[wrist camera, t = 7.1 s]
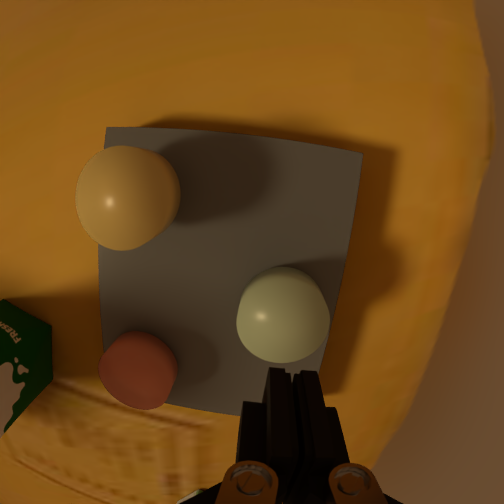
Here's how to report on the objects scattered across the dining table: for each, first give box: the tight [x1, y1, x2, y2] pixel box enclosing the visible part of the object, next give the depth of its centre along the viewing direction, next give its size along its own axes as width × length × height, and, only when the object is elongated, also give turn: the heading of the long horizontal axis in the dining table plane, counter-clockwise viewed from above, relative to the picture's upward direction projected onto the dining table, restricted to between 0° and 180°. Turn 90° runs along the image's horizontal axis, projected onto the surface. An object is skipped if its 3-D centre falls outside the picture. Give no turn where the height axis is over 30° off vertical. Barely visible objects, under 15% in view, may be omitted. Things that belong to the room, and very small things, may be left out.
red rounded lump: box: [98, 331, 178, 410], centre depth 21 cm, size 5×5×5 cm
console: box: [98, 127, 363, 416], centre depth 22 cm, size 20×16×3 cm
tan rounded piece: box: [75, 145, 181, 251], centre depth 17 cm, size 5×5×5 cm
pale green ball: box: [236, 267, 330, 363], centre depth 20 cm, size 5×5×5 cm
